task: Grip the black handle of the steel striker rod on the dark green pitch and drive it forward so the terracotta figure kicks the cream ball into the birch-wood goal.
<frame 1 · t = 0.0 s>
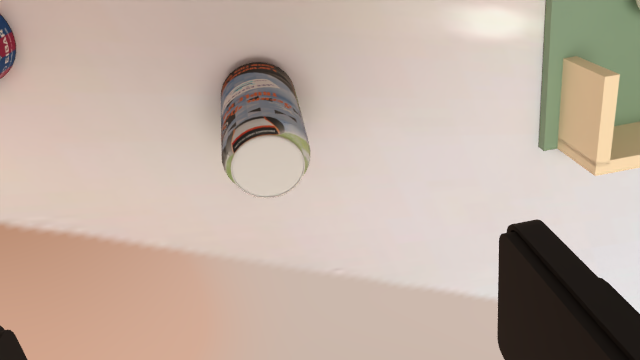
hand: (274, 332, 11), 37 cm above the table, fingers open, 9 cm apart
beverage can: (258, 100, 47), on the table
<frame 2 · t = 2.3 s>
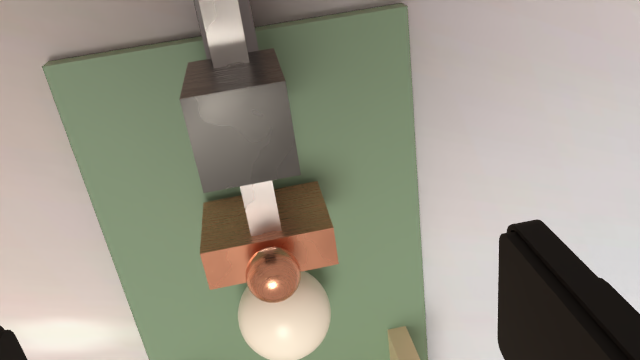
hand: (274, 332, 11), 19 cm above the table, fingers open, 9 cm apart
pitch: (277, 268, 33), on the table
striker: (245, 130, 23), point 5 cm above the table, slide at 0.0 cm
ball: (284, 313, 30), point 3 cm above the table, touching pitch
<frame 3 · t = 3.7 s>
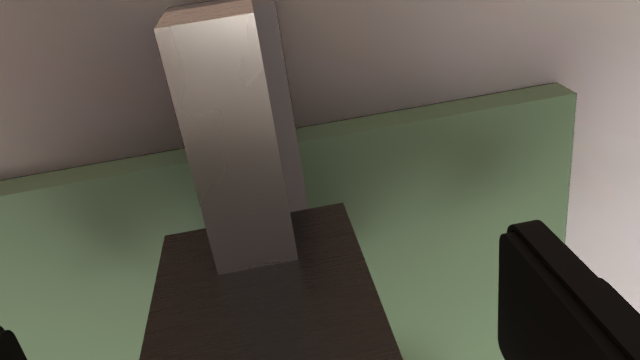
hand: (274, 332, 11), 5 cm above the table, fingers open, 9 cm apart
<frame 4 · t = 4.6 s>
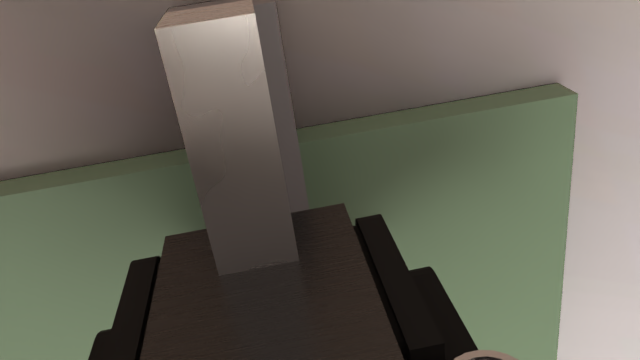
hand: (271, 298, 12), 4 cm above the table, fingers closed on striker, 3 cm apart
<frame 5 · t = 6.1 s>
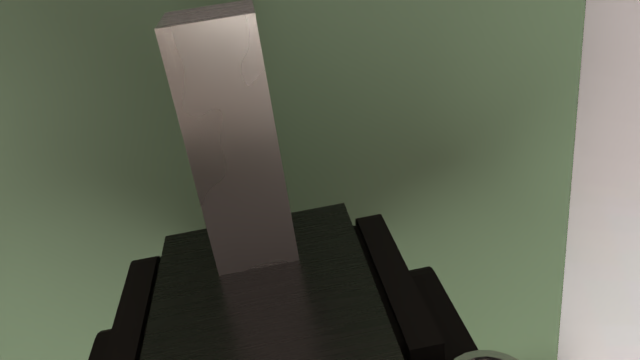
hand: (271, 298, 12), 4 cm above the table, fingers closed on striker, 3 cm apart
pitch: (274, 263, 16), on the table
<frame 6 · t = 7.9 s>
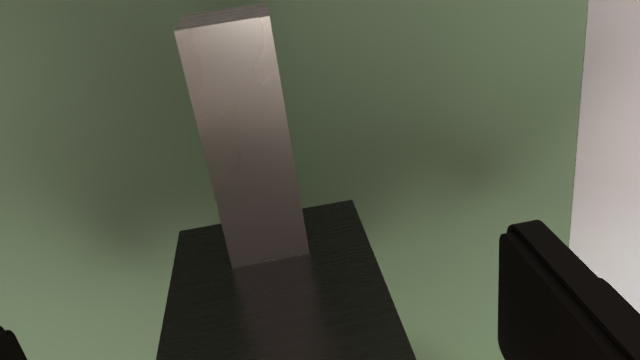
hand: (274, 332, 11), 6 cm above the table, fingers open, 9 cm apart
pitch: (282, 260, 17), on the table
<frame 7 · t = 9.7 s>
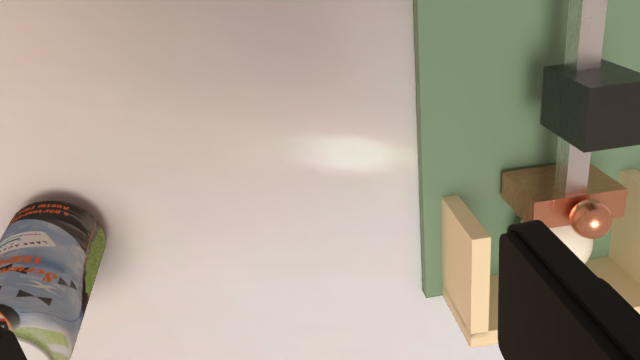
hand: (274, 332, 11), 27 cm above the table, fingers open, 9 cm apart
pitch: (537, 105, 38), on the table
beverage can: (66, 237, 39), on the table
striker: (579, 115, 33), point 5 cm above the table, slide at 10.0 cm
ball: (553, 240, 39), point 3 cm above the table, tilted 177°, touching pitch
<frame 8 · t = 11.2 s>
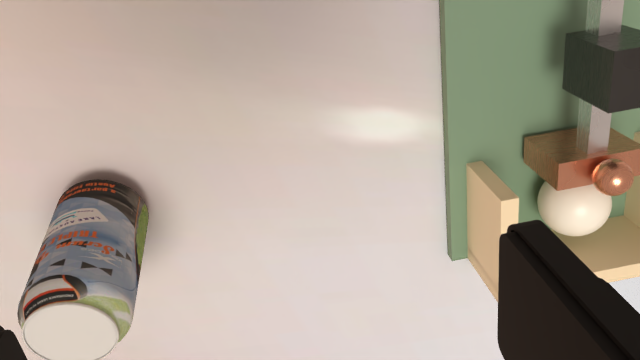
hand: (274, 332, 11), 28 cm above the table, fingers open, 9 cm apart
pitch: (556, 71, 40), on the table
beverage can: (109, 215, 40), on the table
striker: (600, 78, 35), point 5 cm above the table, slide at 10.0 cm
ball: (573, 202, 41), point 3 cm above the table, tilted 173°, touching pitch
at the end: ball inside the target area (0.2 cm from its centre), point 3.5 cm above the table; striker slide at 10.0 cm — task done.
